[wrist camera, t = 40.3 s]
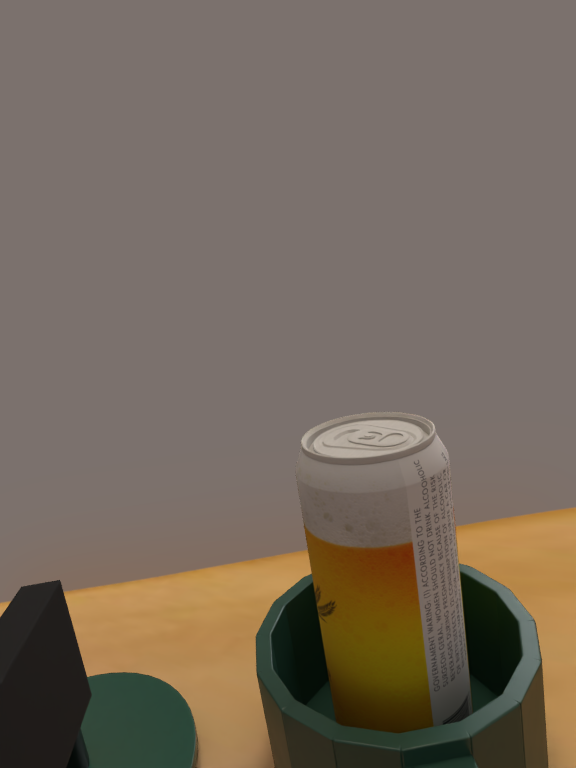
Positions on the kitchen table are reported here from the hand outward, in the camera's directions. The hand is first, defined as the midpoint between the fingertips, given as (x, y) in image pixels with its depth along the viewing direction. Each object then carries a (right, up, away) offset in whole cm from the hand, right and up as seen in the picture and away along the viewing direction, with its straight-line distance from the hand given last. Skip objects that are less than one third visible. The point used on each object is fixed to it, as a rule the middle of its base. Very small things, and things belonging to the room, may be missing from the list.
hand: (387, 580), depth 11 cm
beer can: (+3, -13, +14) cm, 19 cm away
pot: (+3, -13, +14) cm, 19 cm away
